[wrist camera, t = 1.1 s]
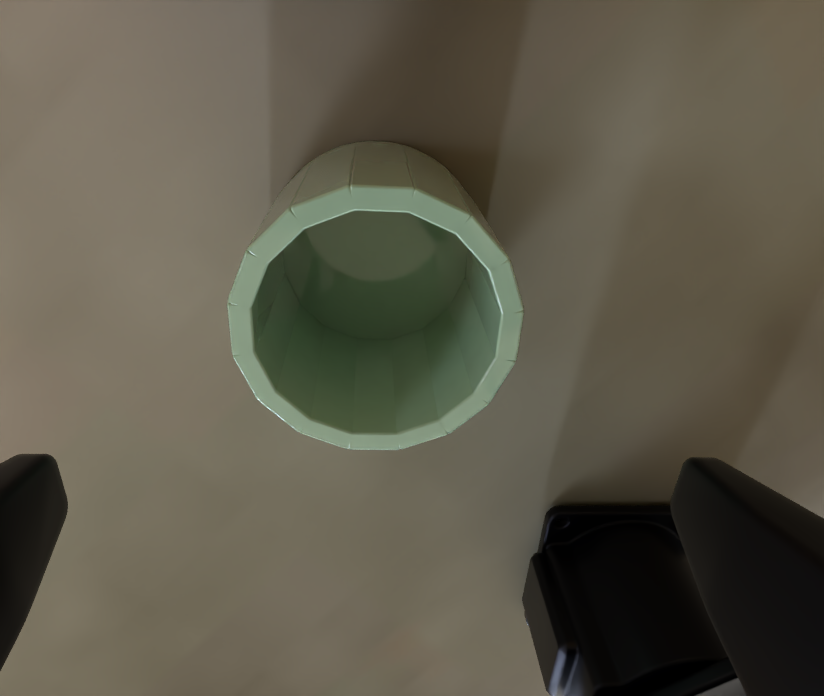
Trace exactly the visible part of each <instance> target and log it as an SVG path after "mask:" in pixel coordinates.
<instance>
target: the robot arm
mask: <svg viewBox="0 0 824 696" xmlns="http://www.w3.org/2000/svg"><path fill="white" fill-rule="evenodd" d="M67 509H68V501H67V496H66V493H65V489H64V486H63V482H62V479H61V475H60V472H59V468H58V465H57V462H56V460H55V459H54V458H53V457H52V456H51V455H48V454H19V455H16V456H14V457H12V458H10V459H8V460H6V461H4V462H3V463H1V464H0V671H1V669H2V667H3V665H4V663H5V661H6V659H7V657H8V655H9V653H10V651H11V649H12V647H13V645H14V643H15V641H16V639H17V637H18V635H19V633H20V631H21V629H22V627H23V625H24V623H25V621H26V618H27V616H28V614H29V611H30V609H31V606H32V604H33V601H34V599H35V596H36V594H37V591H38V588H39V586H40V583H41V581H42V578H43V576H44V573H45V570H46V568H47V565H48V563H49V560H50V557H51V555H52V552H53V550H54V547H55V544H56V542H57V539H58V537H59V534H60V532H61V529H62V526H63V524H64V521H65V518H66V515H67ZM560 518H563V519H561V520H558V519H560ZM556 520H558V521H556ZM522 601H523V605H524V609H525V618H526V622H527V624H528V626H529V627H530V631H531V635H532V639H533V642H534V646H535V650H536V654H537V657H538V661H539V665H540V669H541V672H542V676H543V680H544V684H545V687H546V691H547V692H548V693H549V694H550V695H551V696H824V519H823V518H822V517H820V516H818V515H816V514H814V513H813V512H811V511H809V510H807V509H806V508H804V507H802V506H800V505H799V504H797V503H795V502H793V501H792V500H790V499H788V498H786V497H784V496H783V495H781V494H779V493H777V492H776V491H774V490H772V489H770V488H769V487H767V486H765V485H763V484H761V483H760V482H758V481H756V480H754V479H753V478H751V477H749V476H747V475H746V474H744V473H742V472H740V471H739V470H737V469H735V468H733V467H731V466H730V465H728V464H726V463H724V462H723V461H721V460H719V459H716V458H700V457H692V458H689V459H687V460H686V461H685V462H684V463H683V466H682V468H681V471H680V474H679V477H678V480H677V483H676V486H675V489H674V492H673V495H672V498H671V506H555V507H553V508H551V509H550V510H549V511H548V512H547V513H546V515H545V520H544V524H543V529H542V534H541V538H540V543H539V547H538V552H537V553H535V554H534V555H533V556H532V557H531V559H530V564H529V569H528V574H527V578H526V583H525V588H524V593H523V597H522Z"/></svg>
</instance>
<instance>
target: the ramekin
mask: <svg viewBox="0 0 824 696" xmlns="http://www.w3.org/2000/svg"><path fill="white" fill-rule="evenodd" d="M227 309H228V319H229V329H230V339H231V349H232V354H233V358H234V360H235V361H236V363H237V365H238V367H239V368H240V370H241V372H242V373H243V375H244V377H245V379H246V380H247V382H248V384H249V386H250V387H251V389H252V391H253V393H254V394H255V396H256V398H257V399H258V400H259V401H260V402H261V403H262V404H263V405H264V406H266V407H267V408H268V409H270V410H271V411H272V412H273V413H275V414H276V415H277V416H278V417H280V418H281V419H282V420H283V421H285V422H286V423H287V424H289V425H290V426H291V427H292V428H294V429H295V430H296V431H298V432H299V431H300V433H301V434H304V435H307V436H310V437H313V438H316V439H319V440H322V441H325V442H328V443H331V444H334V445H336V446H339V447H342V448H345V449H348V448H349V449H350V450H399V449H404V448H407V447H410V446H414V445H417V444H420V443H423V442H426V441H429V440H432V439H435V438H439V437H442V436H445V435H447V434H448V433H451V432H453V431H454V430H455V429H457V428H458V427H459V426H461V425H462V424H463V423H465V422H466V421H467V420H469V419H470V418H471V417H473V416H474V415H475V414H477V413H478V412H479V411H481V410H482V409H483V408H485V407H486V406H487V405H488V404H489V403H490V402H491V400H492V399H493V397H494V396H495V394H496V392H497V391H498V389H499V388H500V386H501V384H502V383H503V381H504V380H505V378H506V377H507V375H508V373H509V372H510V370H511V369H512V367H513V365H514V364H515V360H516V359H517V354H518V348H519V341H520V335H521V329H522V323H523V316H524V310H523V309H524V306H523V303H522V299H521V296H520V292H519V288H518V285H517V281H516V278H515V274H514V271H513V267H512V264H511V260H510V259H509V257H508V255H507V253H506V252H505V250H504V248H503V247H502V245H501V244H500V242H499V240H498V239H497V237H496V236H495V234H494V232H493V231H492V229H491V228H490V226H489V224H488V223H487V221H486V220H485V218H484V216H483V215H482V213H481V212H480V210H479V208H478V207H477V205H476V204H475V202H474V200H473V199H472V198H471V197H470V195H469V194H468V193H467V192H466V191H465V189H464V188H463V187H462V185H461V184H460V183H459V181H458V180H457V179H456V178H455V177H454V176H453V175H452V173H451V172H450V171H449V170H448V169H447V168H446V167H444V166H443V165H442V164H440V163H439V162H438V161H436V160H435V159H433V158H432V157H430V156H428V155H426V154H425V153H423V152H421V151H418V150H416V149H414V148H411V147H409V146H405V145H401V144H397V143H392V142H384V141H363V142H357V143H350V144H347V145H343V146H340V147H337V148H334V149H332V150H330V151H327V152H325V153H323V154H321V155H320V156H318V157H317V158H315V159H313V160H312V161H310V162H309V163H308V164H307V165H305V166H304V167H303V168H302V169H301V170H300V171H299V172H298V173H297V174H296V175H295V176H294V177H293V178H292V180H291V181H290V182H289V183H288V185H287V186H286V187H285V188H284V189H283V190H282V191H281V192H280V194H279V195H278V197H277V199H276V200H275V202H274V204H273V205H272V207H271V209H270V210H269V212H268V214H267V216H266V217H265V219H264V221H263V222H262V224H261V226H260V227H259V229H258V231H257V232H256V234H255V236H254V238H253V239H252V241H251V243H250V244H249V246H248V248H247V249H246V251H245V253H244V256H243V259H242V262H241V264H240V267H239V270H238V273H237V275H236V278H235V281H234V283H233V286H232V289H231V292H230V294H229V297H228V303H227Z"/></svg>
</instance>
